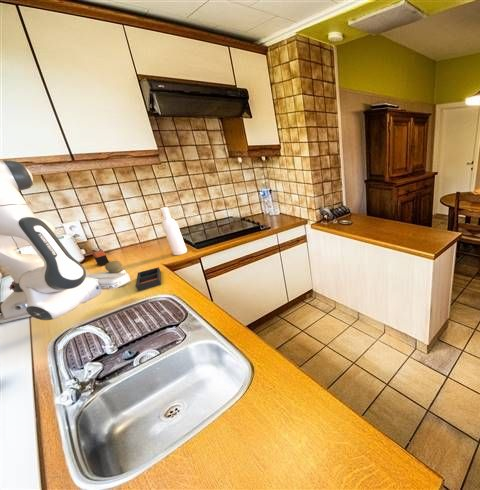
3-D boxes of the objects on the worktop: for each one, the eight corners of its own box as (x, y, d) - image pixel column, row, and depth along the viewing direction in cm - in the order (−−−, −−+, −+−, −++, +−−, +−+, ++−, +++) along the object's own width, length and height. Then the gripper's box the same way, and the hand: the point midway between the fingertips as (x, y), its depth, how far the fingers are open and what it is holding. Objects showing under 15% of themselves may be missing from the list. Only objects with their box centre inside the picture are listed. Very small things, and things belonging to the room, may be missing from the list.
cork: (120, 288, 114) (109, 265, 110) (109, 287, 115) (98, 265, 111) (134, 281, 119) (124, 259, 115) (123, 280, 120) (113, 258, 116)
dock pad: (138, 291, 128) (135, 285, 127) (140, 277, 142) (137, 272, 140) (161, 284, 133) (158, 279, 132) (160, 272, 147) (158, 267, 145)
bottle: (174, 252, 173) (157, 207, 161) (187, 249, 176) (172, 205, 164) (172, 256, 166) (154, 210, 154) (186, 253, 169) (170, 208, 158)
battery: (100, 266, 158) (92, 251, 154) (97, 264, 162) (89, 249, 158) (110, 263, 161) (102, 248, 158) (106, 261, 165) (99, 246, 161)
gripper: (107, 281, 101) (138, 264, 114) (58, 282, 102) (93, 265, 115) (114, 295, 104) (143, 277, 116) (66, 295, 105) (100, 278, 117)
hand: (118, 271), depth 116 cm, fingers closed on cork, 4 cm apart
